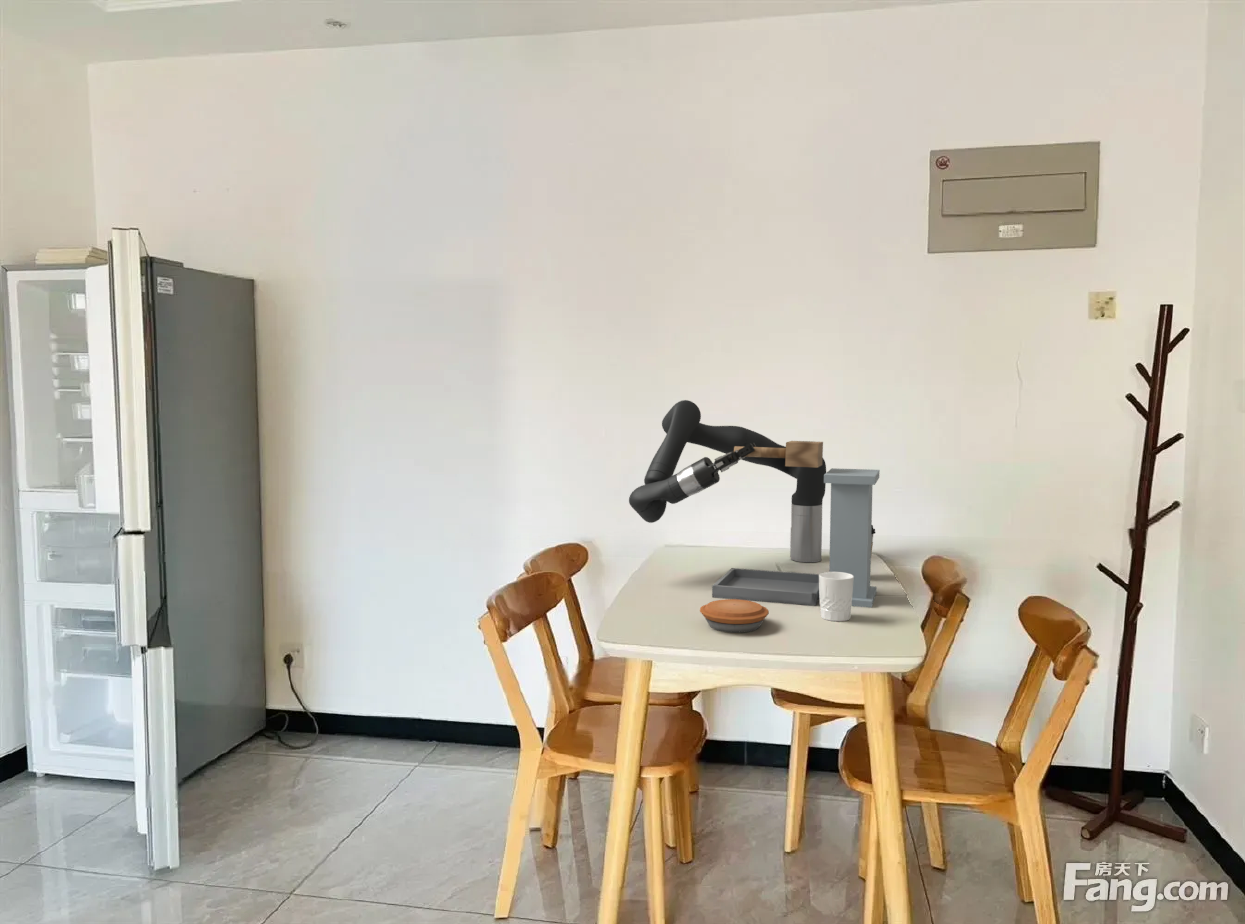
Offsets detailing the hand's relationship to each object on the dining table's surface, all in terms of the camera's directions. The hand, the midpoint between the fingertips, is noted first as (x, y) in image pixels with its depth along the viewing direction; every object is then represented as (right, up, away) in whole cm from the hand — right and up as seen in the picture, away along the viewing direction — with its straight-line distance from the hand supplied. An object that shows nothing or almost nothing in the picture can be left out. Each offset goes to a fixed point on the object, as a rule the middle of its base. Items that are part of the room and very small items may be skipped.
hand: (754, 446), depth 225 cm
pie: (-9, -41, -29) cm, 51 cm away
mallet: (+6, -5, -2) cm, 7 cm away
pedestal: (+24, -38, -5) cm, 45 cm away
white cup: (+15, -40, -23) cm, 49 cm away
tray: (+5, -38, +2) cm, 38 cm away
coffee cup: (+31, -36, +17) cm, 51 cm away
